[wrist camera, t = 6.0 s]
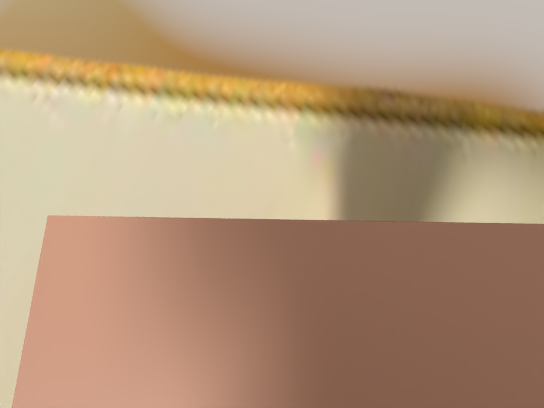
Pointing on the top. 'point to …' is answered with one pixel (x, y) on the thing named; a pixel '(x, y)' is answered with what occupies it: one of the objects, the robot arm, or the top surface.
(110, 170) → the top surface
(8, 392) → the top surface
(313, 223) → the pillar
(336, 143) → the top surface
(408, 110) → the top surface
